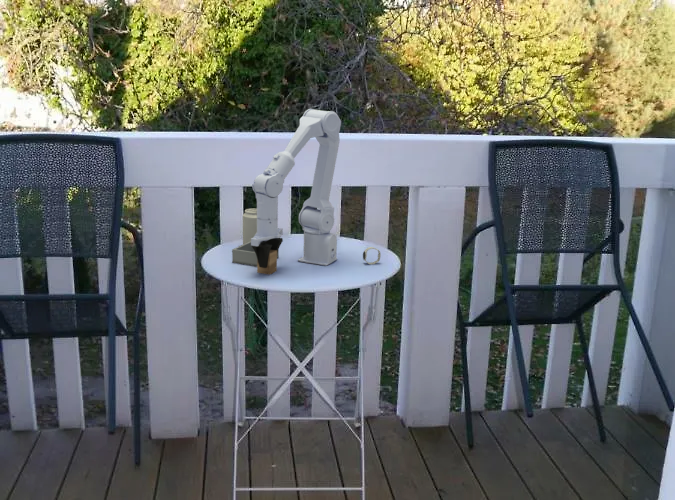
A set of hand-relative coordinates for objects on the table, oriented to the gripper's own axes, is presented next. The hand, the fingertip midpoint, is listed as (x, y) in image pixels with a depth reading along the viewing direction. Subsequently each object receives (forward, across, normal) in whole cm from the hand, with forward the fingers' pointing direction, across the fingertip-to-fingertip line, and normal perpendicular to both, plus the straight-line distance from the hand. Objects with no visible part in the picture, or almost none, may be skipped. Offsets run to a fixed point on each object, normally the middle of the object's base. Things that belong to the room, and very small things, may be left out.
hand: (267, 265), depth 204 cm
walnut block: (+2, 0, 0) cm, 2 cm away
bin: (+2, +8, +8) cm, 12 cm away
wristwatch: (+2, +22, -23) cm, 32 cm away
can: (+2, +21, +16) cm, 26 cm away
